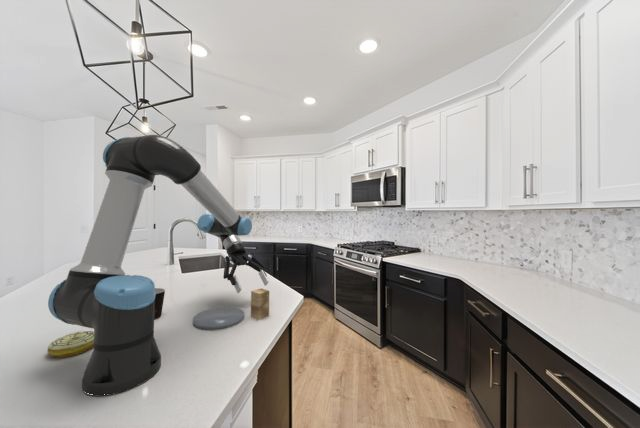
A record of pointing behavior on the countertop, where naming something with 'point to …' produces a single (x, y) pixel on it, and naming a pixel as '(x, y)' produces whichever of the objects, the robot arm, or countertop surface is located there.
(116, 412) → the countertop surface
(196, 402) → the countertop surface
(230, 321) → the dish
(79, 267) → the robot arm
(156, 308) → the coffee mug
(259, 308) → the oak block
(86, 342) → the decorated donut
